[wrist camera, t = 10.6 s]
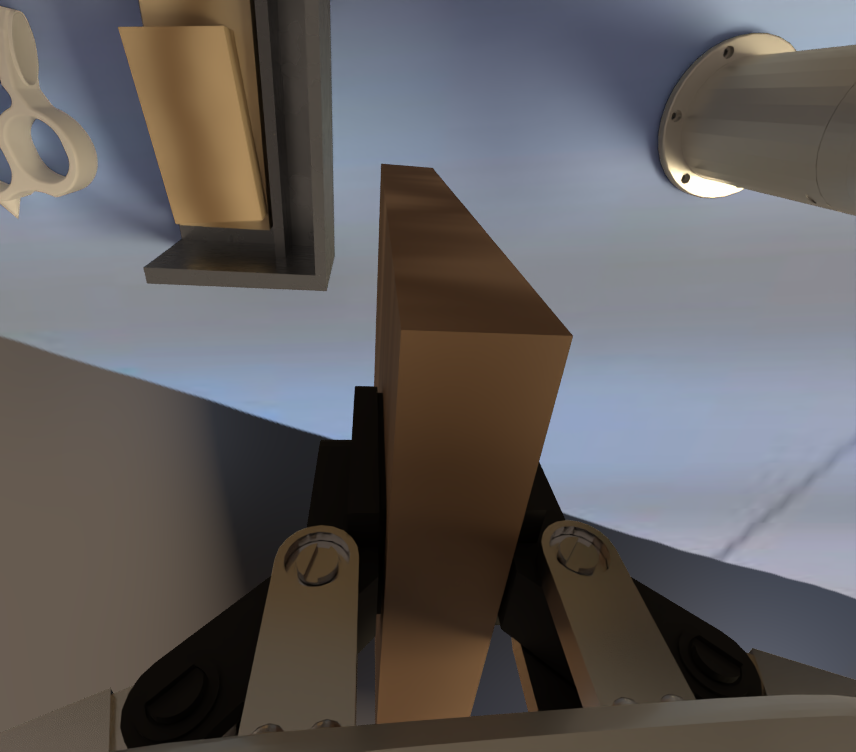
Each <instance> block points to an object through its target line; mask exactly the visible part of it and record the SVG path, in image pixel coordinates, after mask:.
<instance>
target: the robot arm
mask: <svg viewBox="0 0 856 752" xmlns="http://www.w3.org/2000/svg"><path fill="white" fill-rule="evenodd" d="M723 53H724V54H723ZM672 114H673V117H672ZM658 151H659V156H660V162H661V165H662V167H663V170H664V172H665V174H666V176H667V177H668V178H669V180H670V181H671V183H672V184H674V185H675V186H676V187H677V188H678V189H679V190H681V191H683V192H685V193H687V194H690V195H693V196H697V197H700V198H719V197H725V196H728V195H731V194H734V193H737V192H739V191H741V190H743V189H748V190H752V191H756V192H760V193H764V194H769V195H773V196H777V197H781V198H785V199H789V200H793V201H797V202H801V203H805V204H809V205H814V206H818V207H822V208H826V209H830V210H834V211H838V212H842V213H846V214H850V215H854V216H856V45H848V46H839V47H830V48H821V49H811V50H802V51H796V49H795V48H794V47H793V46H792V45H791V44H790V43H789V42H787V41H786V40H784V39H783V38H781V37H780V36H776V35H772V34H769V33H750V34H744V35H739V36H736V37H733V38H730V39H727V40H724V41H723V42H721V43H719V44H717V45H716V46H714V47H712V48H710V49H709V50H708V51H707V52H705V53H704V54H703V55H702V56H700V57H699V58H698V59H697V60H696V61H695V62H694V63H693V64H692V65H691V66H690V67H689V68H688V70H687V71H686V72H685V73H684V74H683V76H682V77H681V79H680V80H679V82H678V83H677V84H676V86H675V87H674V89H673V91H672V93H671V95H670V97H669V99H668V101H667V103H666V106H665V109H664V112H663V115H662V118H661V123H660V128H659V134H658ZM681 178H682V179H681ZM385 535H386V473H385V443H384V412H383V393H378V387H371V386H355V395H354V411H353V427H352V440H321V441H320V446H319V452H318V459H317V465H316V472H315V478H314V484H313V491H312V497H311V504H310V510H309V517H308V524H307V528H305V529H303V530H300V531H297V532H296V533H295V534H293V535H292V536H291V537H289V538H287V540H286V541H285V542H284V543H283V544H282V546H281V547H280V548H279V550H278V552H277V555H276V558H275V561H274V565H273V570H272V575H271V576H270V577H269V578H268V579H266V580H265V581H264V582H262V583H261V584H260V585H258V586H257V587H256V588H254V589H253V590H252V591H250V592H249V593H248V594H246V595H245V596H244V597H242V598H241V599H240V600H238V601H237V602H236V603H234V604H233V605H232V606H230V607H229V608H228V609H226V610H225V611H224V612H222V613H221V614H220V615H219V616H217V617H215V618H214V619H213V620H211V621H210V622H209V623H208V624H206V625H205V626H203V627H202V628H201V629H200V630H198V631H197V632H196V633H194V634H193V635H191V636H190V637H189V638H187V639H186V640H185V641H183V642H182V643H181V644H180V645H178V646H177V647H175V648H174V649H173V650H172V651H170V652H169V653H168V654H166V655H165V656H164V657H162V658H161V659H159V660H158V661H157V662H156V663H154V664H153V665H152V666H151V667H150V668H149V669H148V670H147V671H146V672H144V673H143V674H142V675H141V676H140V678H139V679H138V680H137V682H136V683H135V685H133V686H131V687H128V688H126V689H123V690H121V691H118V692H116V693H113V691H112V689H111V688H109V689H106V690H104V691H101V692H99V693H97V694H94V695H92V696H89V697H87V698H84V699H82V700H80V701H77V702H74V703H72V704H69V705H67V706H65V707H62V708H60V709H57V710H55V711H52V712H50V713H47V714H45V715H43V716H40V717H38V718H35V719H33V720H30V721H28V722H25V723H23V724H20V725H18V726H15V727H13V728H10V729H8V730H5V731H3V732H1V733H0V752H856V680H854V679H851V678H847V677H844V676H841V675H838V674H834V673H831V672H828V671H825V670H821V669H818V668H815V667H812V666H809V665H805V664H802V663H799V662H796V661H792V660H789V659H786V658H783V657H779V656H776V655H773V654H770V653H766V652H763V651H760V650H757V649H754V648H752V650H751V651H750V652H749V653H746V652H745V651H744V650H743V649H742V648H740V646H739V645H738V644H737V643H736V642H735V641H734V640H732V639H731V638H730V637H728V636H727V635H725V634H724V633H723V632H721V631H720V630H718V629H717V628H715V627H713V626H712V625H710V624H708V623H707V622H705V621H703V620H701V619H700V618H698V617H697V616H695V615H693V614H691V613H690V612H688V611H687V610H685V609H683V608H682V607H680V606H678V605H677V604H675V603H673V602H672V601H670V600H668V599H667V598H665V597H663V596H662V595H660V594H658V593H657V592H655V591H653V590H652V589H650V588H648V587H647V586H645V585H643V584H642V583H640V582H638V581H637V580H635V579H633V578H632V577H630V575H629V573H628V571H627V569H626V567H625V565H624V563H623V562H622V560H621V558H620V556H619V554H618V552H617V550H616V549H615V547H614V546H613V545H612V543H611V542H610V540H609V539H608V538H607V537H606V536H604V535H603V534H602V533H601V532H600V531H598V530H596V529H595V528H593V527H591V526H589V525H587V524H584V523H581V522H578V521H570V520H565V518H564V516H563V513H562V511H561V509H560V507H559V505H558V502H557V500H556V498H555V496H554V494H553V491H552V489H551V487H550V485H549V482H548V480H547V478H546V476H545V474H544V471H543V469H542V467H541V465H540V463H538V467H537V471H536V474H535V478H534V482H533V485H532V489H531V493H530V496H529V500H528V504H527V507H526V511H525V515H524V519H523V522H522V526H521V530H520V533H519V537H518V541H517V544H516V548H515V552H514V555H513V559H512V563H511V567H510V570H509V574H508V578H507V581H506V585H505V589H504V592H503V596H502V600H501V603H500V607H499V611H498V615H497V618H496V622H495V625H500V626H501V629H502V630H503V631H504V632H506V633H507V634H509V635H510V636H511V637H512V648H513V652H514V656H515V660H516V664H517V668H518V672H519V676H520V680H521V684H522V688H523V692H524V696H525V700H526V704H527V708H528V712H523V713H511V714H497V715H484V716H472V717H458V718H445V719H432V720H419V721H407V722H395V723H382V724H370V725H358V726H356V703H357V664H358V663H357V662H358V653H359V652H360V651H361V650H362V649H363V648H364V647H365V646H366V645H367V644H368V643H369V642H370V641H371V640H372V639H373V638H374V637H375V636H376V615H377V614H381V604H382V587H383V569H384V552H385Z"/></svg>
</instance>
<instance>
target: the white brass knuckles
mask: <svg viewBox="0 0 856 752" xmlns="http://www.w3.org/2000/svg"><path fill="white" fill-rule="evenodd" d="M38 71H39V65H38V56H37V50H36V44H35V40H34V36H33V33H32V30H31V28H30V25H29V23H28V20H27V18H26V17H25V15H24V14H23V13H22V12H21V11H18V10H14V9H10V8H6V7H2V6H0V80H1V85H2V86H3V87H4V88H5V89H6V91H7V92H8V93H9V95H10V97H11V100H12V105H11V107H10V108H9V109H7V110H5V111H4V112H3V113H2V114H1V115H0V148H1V150H2V151H3V153H4V155H5V157H6V159H7V161H8V163H9V165H10V168H11V172H12V180H11V183H10V184H7V183H4V182H2V181H1V180H0V204H1V205H2V206H3V207H5V208H6V209H7V210H8V211H9V212H10V213H12V214H13V215H14V216H15V217H16V218H18V217H19V208H20V199H21V197H24V196H28V195H31V194H32V193H33V192H34V191H38V192H43V193H46V194H49V195H52V196H54V197H60V196H63V195H66V194H69V193H72V192H76V191H79V190H81V189H84V188H85V187H87V186H88V185H89V184H90V183H91V182H92V181H93V179H94V177H95V175H96V172H97V167H98V160H97V154H96V150H95V147H94V145H93V143H92V141H91V139H90V137H89V136H88V134H87V133H86V131H85V130H84V129H83V128H82V126H81V125H80V124H79V123H78V122H77V121H76V120H74V119H73V118H72V117H71V116H69V115H68V114H66V113H65V112H63V111H61V110H59V109H57V108H55V107H54V106H53V105H52V104H51V103H50V102H49V100H48V99H47V98H46V96H45V95H44V94H43V92H42V91H41V90H40V86H39V80H38ZM36 119H39V120H41V121H43V122H44V123H46V124H47V125H48V126H50V127H51V128H52V129H53V130H54V131H55V133H56V134H57V135H58V137H59V138H60V140H61V142H62V145H63V147H64V149H65V151H66V154H67V156H68V160H69V171H68V173H67V175H66V176H62V175H60V174H57V173H56V172H54V171H52V170H51V169H50V168H49V167H47V166H46V165H45V163H44V162H43V161H42V159H41V158H40V156H39V154H38V152H37V150H36V148H35V146H34V144H33V141H32V138H31V126H32V124H33V122H34V121H35V120H36Z"/></svg>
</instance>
